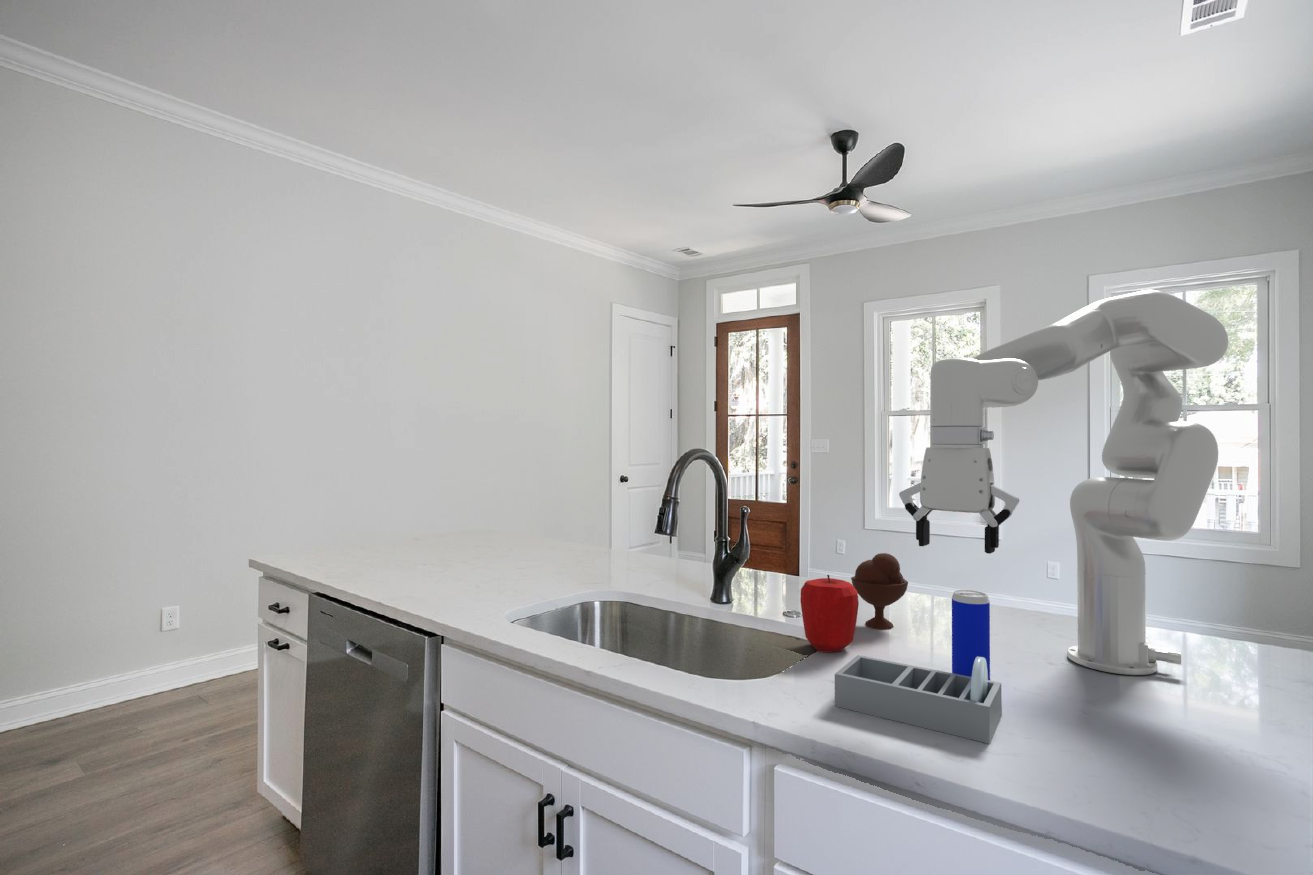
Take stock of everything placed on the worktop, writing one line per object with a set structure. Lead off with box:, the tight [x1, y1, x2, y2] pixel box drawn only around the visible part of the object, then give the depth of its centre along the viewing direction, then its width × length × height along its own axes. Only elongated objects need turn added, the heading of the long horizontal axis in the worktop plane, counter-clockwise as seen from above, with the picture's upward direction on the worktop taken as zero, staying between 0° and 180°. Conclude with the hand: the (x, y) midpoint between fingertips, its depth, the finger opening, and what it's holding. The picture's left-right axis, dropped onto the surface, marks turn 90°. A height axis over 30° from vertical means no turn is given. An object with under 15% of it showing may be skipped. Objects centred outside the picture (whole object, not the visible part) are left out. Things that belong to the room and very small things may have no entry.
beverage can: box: [951, 589, 991, 681], centre depth 98 cm, size 5×5×15 cm
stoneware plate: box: [971, 656, 988, 703], centre depth 87 cm, size 1×8×8 cm, turn 144°
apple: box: [799, 574, 859, 653], centre depth 119 cm, size 11×10×14 cm
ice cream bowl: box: [850, 552, 909, 630], centre depth 133 cm, size 11×11×15 cm
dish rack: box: [834, 654, 1003, 745], centre depth 91 cm, size 20×10×5 cm, turn 54°
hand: (956, 548), depth 101 cm, fingers open, 9 cm apart
